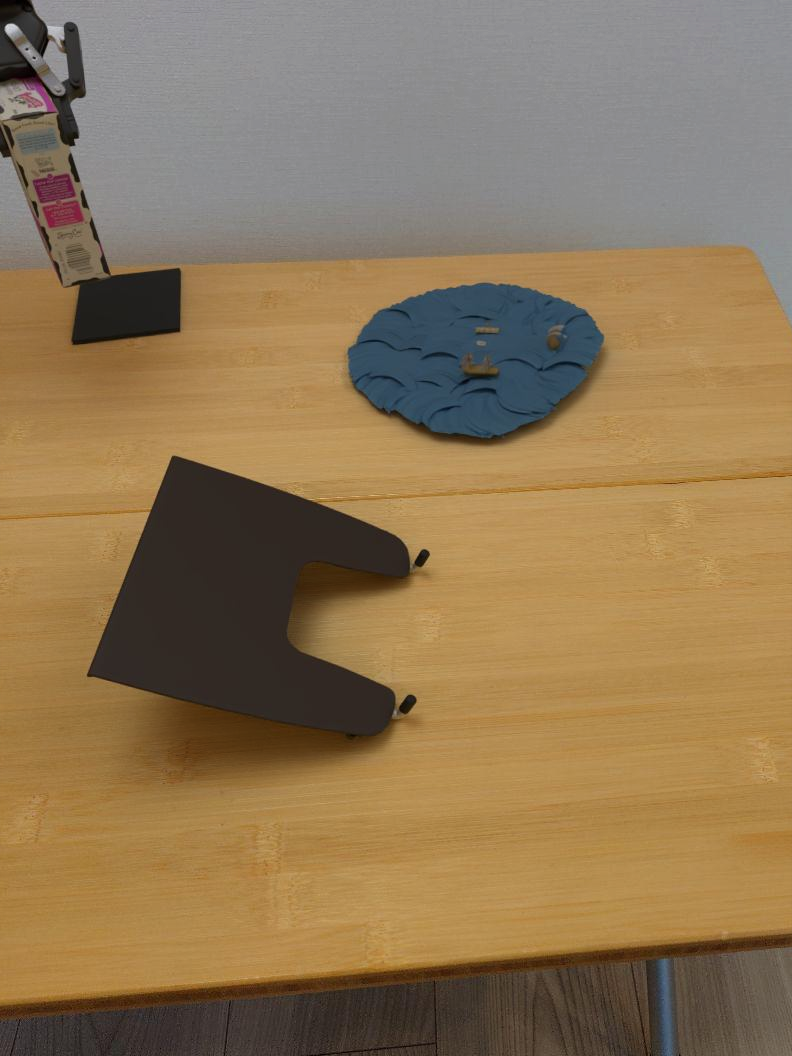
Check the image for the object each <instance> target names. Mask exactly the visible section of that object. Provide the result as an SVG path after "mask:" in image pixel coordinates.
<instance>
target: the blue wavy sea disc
mask: <svg viewBox="0 0 792 1056" xmlns="http://www.w3.org/2000/svg"><path fill="white" fill-rule="evenodd" d="M604 340H605V334H604V333H602V331H601V330H600V329H599V327H598V326H597V321H596V320H594V318H593V317H592V316H591V315H590V314H589V312H588V311H587V309H584V308H581V307H578V306H577V305H576V303H572V302H570V300H564V299H563V298H561V297H559V296H558V297H555V296H553V295H551V294H546V293H543V292H540V291H538V290H537V289H532V288H530V287H522V286H520V285H517V284H511V283H509V284H506V283H501V282H500V283H499V284H495V283H491V282H477V283H473V284H472V285H471V284H469V285H468V284H461V285H458V286H456V287H454V286H450V287H446V288H435V289H433V290H427V291H426V292H424V293H422V294H418V295H416V296H409V297H407V298H405V299H404V300H402V301H401V302H397V303H395V304H391V306H389V307H385V308H382V309H379V310H378V311H376V313H374V314H373V315H372V318H371V319H370V320H369V322H368V323H367V324H364V326H363V327H362V329H361V331H360V334H358V335H357V336H356V342H355V344H353V345H351V346H350V347H348V348H347V357H348V363H347V367H348V371H349V376H350V377H353V378H352V381H351V383H352V384H353V385H354V386H355V387H356V389H357V390H359V392H363V393H364V394H365V396H366V397H367V399H368V400H369V401H370V402H371V403H372V404H373V405H374V407H377V408H378V410H382V409H383V408H384V409H385V411H386V413H387V414H388V415H390V414H391V411H396V412H397V413H399V414H401V415H402V416H403V417H405V418H406V419H408V420H409V421H410V422H412V423H415V424H417V425H419V424H420V423H421V422H422V423H423V425H425V426H426V427H427V428H429V430H430V431H431V432H436V433H444V434H447V435H452V434H455V433H457V434H461V435H467V436H472V437H478V438H481V439H484V438H487V439H492V437H493V436H494V435H495V436H497V437H500V438H502V439H503V438H505V436H504V435H505V434H507V433H509V432H513V431H515V430H517V428H519V427H520V426H524V425H526V424H529V423H532V422H536V421H538V420H543V419H544V418H545V417H548V416H549V415H550V412H551V411H556V410H558V409H559V407H554V406H555V405H556V404H557V405H558V403H559V402H560V401H561V400H565V398H566V397H568V395H569V394H571V393H572V392H573V391H575V390H576V389H577V388H578V387H579V385H581V384H582V383H583V382H584V380H585V379H586V377H587V375H588V374H589V372H588V371H586V369H584V367H586V368H590V367H592V364H593V362H595V361H596V360H595V359H597V355H598V354H599V352H601V349H602V346H603V344H604ZM583 366H584V367H583Z"/></svg>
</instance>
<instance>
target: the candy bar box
mask: <svg viewBox="0 0 792 1056" xmlns="http://www.w3.org/2000/svg"><path fill="white" fill-rule="evenodd" d="M0 128H1V130H2V133H3V136H4V138H5V141H6V143H7V146H8V149H9V151H10V154H11V157H10V159H11V162H12V164H13V167H14V170H15V173H16V175H17V178H18V181H19V183H20V187H21V189H22V192H23V194H24V197H25V200H26V202H27V205H28V208H29V210H30V213H31V216H32V218H33V221H34V223H35V226H36V228H37V231H38V234H39V236H40V239H41V241H42V244H43V247H44V248H45V251H46V253H47V256H48V257H49V260H50V263H51V264H52V266H53V269H54V271H55V274H56V275H57V278H58V280H59V283H60V285H61V287H62V288H63V289H66V288H67V289H68V288H72V287H77V286H80V285H81V284H86V283H91V282H95V281H100V280H103V279H107V278H110V277H111V275H112V274H111V271H110V268H109V265H108V262H107V258H106V255H105V252H104V249H103V246H102V244H101V243H102V242H101V240H100V237H99V233H98V231H97V228H96V224H95V221H94V218H93V215H92V212H91V209H90V206H89V203H88V202H89V201H88V199H87V197H86V193H85V191H84V187H83V184H82V180H81V178H80V175H79V171H78V168H77V166H76V162H75V160H74V156H73V154H72V150H71V147H69V144H68V141H67V138H66V134H65V131H64V128H63V125H62V122H61V119H60V116H59V112H58V110H57V109H56V107H55V105H54V104H53V102H52V99H51V98H50V97H49V95H48V94H47V92H46V90H45V88H44V87H43V85H42V83H41V82H39V81H38V80H37V79H36V77H33V76H32V77H31V78H24V79H22V78H12V79H9V80H7V81H3V82H0Z"/></svg>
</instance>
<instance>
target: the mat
mask: <svg viewBox="0 0 792 1056" xmlns="http://www.w3.org/2000/svg"><path fill="white" fill-rule="evenodd" d="M181 288H182V271H181V268H180V267H176V268H175V267H174V268H165V269H157V270H149V271H147V270H146V271H139V272H131V273H130V272H129V273H121V274H120V273H119V274H113V275H112V274H111V277H110V278H107V279H103V280H100V281H95V282H91V283H86V284H81V285H79V288H78V294H77V300H76V301H77V302H76V308H75V315H74V322H73V328H72V334H71V344H72V345H82V344H83V345H84V344H90V343H98V342H99V343H100V342H105V341H106V342H107V341H115V340H122V339H129V338H132V339H133V338H138V337H146V336H154V335H156V336H157V335H164V334H172V333H179V332H181V299H182V298H181V297H182V296H181V295H182V294H181V293H182V289H181Z"/></svg>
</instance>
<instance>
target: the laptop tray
mask: <svg viewBox="0 0 792 1056" xmlns="http://www.w3.org/2000/svg"><path fill="white" fill-rule="evenodd" d="M430 555H431V553H430V551H429V550H428V549H426V548H422V549H421V550H419V553H418V555H417V556H416V558H415V560H414V562H413V563H411V558H410V552H409V549H408V546H407V545H406V544H405V542H403V540H402V539H401V538H400V537H398V536H397V535H395V534H393V533H391V532H390V531H387V530H385V529H382V528H380V527H378V526H375V525H373V524H371V523H368V522H366V521H364V520H362V519H359V518H357V517H355V516H352V515H350V514H347V513H344V512H342V511H340V510H337V509H334V508H332V507H329V506H326V505H324V504H321V503H320V502H319V503H318V502H316V501H313V500H311V499H308V498H305V497H302V496H300V495H297V494H294V493H290V492H288V491H285V490H283V489H279V488H277V487H274V486H271V485H268V484H265V483H262V482H259V481H257V480H253V479H251V478H248V477H245V476H241V475H238V474H235V473H232V472H229V471H225V470H222V469H220V468H217V467H213V466H210V465H207V464H204V463H200V462H198V461H195V460H191V459H188V458H185V457H182V456H178V455H172V456H171V457H170V461H169V463H168V465H167V467H166V469H165V473H164V475H163V478H162V481H161V484H160V486H159V489H158V491H157V493H156V495H155V498H154V500H153V504H152V506H151V509H150V511H149V514H148V516H147V519H146V522H145V524H144V527H143V529H142V532H141V535H140V537H139V540H138V541H137V544H136V547H135V550H134V552H133V555H132V557H131V560H130V562H129V564H128V568H127V570H126V573H125V576H124V578H123V581H122V583H121V585H120V588H119V591H118V593H117V596H116V599H115V602H114V604H113V606H112V608H111V611H110V614H109V617H108V618H107V619H108V620H107V621H106V624H105V627H104V630H103V632H102V634H101V637H100V640H99V643H98V645H97V647H96V650H95V652H94V655H93V658H92V661H91V663H90V665H89V669H88V671H87V674H86V677H87V678H96V679H100V680H104V681H108V682H111V683H115V684H118V685H121V686H126V687H129V688H132V689H136V690H139V691H143V692H148V693H151V694H153V695H159V696H163V697H166V698H170V699H174V700H178V701H182V702H185V703H189V704H193V705H198V706H202V707H205V708H211V709H215V710H219V711H224V712H226V713H227V712H228V713H232V714H236V715H241V716H245V717H248V718H249V717H250V718H254V719H259V720H263V721H267V722H273V723H277V724H281V725H282V724H283V725H288V726H293V727H300V728H304V729H311V730H317V731H321V732H322V731H323V732H328V733H335V734H343V735H345V737H346V739H347V740H348V741H353V740H355V739H357V738H365V737H374V736H378V735H380V734H381V733H383V732H384V731H385V730H386V729H387V727H388V726H389V724H390V722H391V720H402V719H403V718H405V717H407V715H408V714H410V712H411V711H412V709H413V708H414V706H415V705H416V703H418V699H417V697H416V696H415V695H414V694H411V693H409V694H406V696H405V698H404V699H403V700H402V702H401V703H400V705H399V706H398V708H395V707H396V701H397V699H396V698H397V697H396V693H395V692H394V690H393V689H391V688H390V687H388V686H386V685H384V684H382V683H380V682H378V681H376V680H373V679H371V678H369V677H367V676H364V675H361V674H360V673H358V672H355V671H353V670H350V669H348V668H346V667H344V666H341V665H338V664H335V663H333V662H330V661H327V660H325V659H322V658H319V657H316V656H313V655H311V654H308V653H306V652H303V651H301V650H299V648H296V647H295V646H294V645H293V644H292V642H291V641H290V639H289V636H288V630H289V629H288V628H289V623H290V622H289V621H290V617H291V611H292V607H293V603H294V602H293V601H294V598H295V593H296V589H297V585H298V580H299V576H300V572H301V570H302V569H303V567H304V566H306V565H308V564H312V563H318V564H325V565H328V566H333V567H336V568H341V569H345V570H349V571H354V572H357V573H358V572H359V573H364V574H369V575H376V576H382V577H387V578H393V579H406V578H407V577H408V576H409V575H410V574H415V573H418V572H419V571H420V570H421V569H422V568H423V567H424V566H425V564H426V562H427V561H428V559H429V558H430Z"/></svg>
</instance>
